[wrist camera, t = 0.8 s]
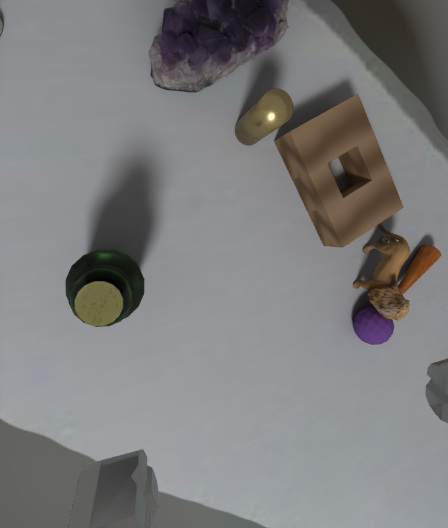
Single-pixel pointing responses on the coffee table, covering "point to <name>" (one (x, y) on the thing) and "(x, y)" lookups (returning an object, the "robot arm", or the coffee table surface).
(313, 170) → the walnut hole block
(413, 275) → the purple and orange maraca
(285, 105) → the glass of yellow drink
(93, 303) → the potion bottle
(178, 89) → the geode
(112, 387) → the coffee table surface
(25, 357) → the coffee table surface
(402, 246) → the lion figurine
